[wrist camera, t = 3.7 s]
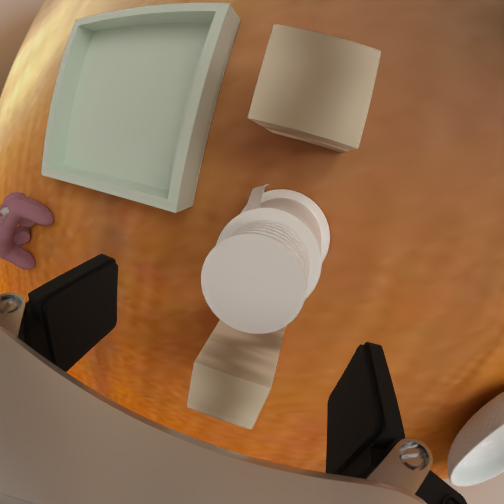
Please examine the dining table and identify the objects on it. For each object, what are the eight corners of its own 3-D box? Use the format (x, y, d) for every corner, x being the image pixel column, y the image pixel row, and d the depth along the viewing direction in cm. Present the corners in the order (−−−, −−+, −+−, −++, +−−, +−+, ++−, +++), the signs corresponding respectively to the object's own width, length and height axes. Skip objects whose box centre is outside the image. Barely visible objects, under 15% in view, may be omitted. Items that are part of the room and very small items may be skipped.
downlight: (341, 274, 21) (351, 349, 12) (255, 294, 23) (212, 369, 14) (312, 170, 20) (304, 169, 10) (223, 198, 22) (152, 221, 13)
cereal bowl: (558, 361, 18) (580, 391, 11) (498, 443, 24) (508, 475, 17) (485, 361, 21) (511, 405, 14) (417, 453, 26) (424, 494, 20)
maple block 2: (358, 89, 17) (381, 50, 10) (341, 153, 19) (358, 148, 11) (290, 70, 18) (274, 23, 10) (273, 133, 19) (247, 118, 12)
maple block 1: (286, 321, 24) (271, 388, 16) (270, 363, 25) (251, 429, 18) (229, 303, 24) (194, 361, 17) (219, 346, 26) (186, 406, 19)
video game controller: (53, 191, 27) (1, 182, 21) (57, 220, 26) (0, 213, 19) (30, 244, 31) (-13, 241, 25) (35, 272, 29) (-12, 271, 23)
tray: (240, 19, 17) (229, 3, 14) (192, 205, 22) (175, 213, 19) (94, 27, 19) (75, 19, 16) (62, 171, 24) (41, 174, 21)
